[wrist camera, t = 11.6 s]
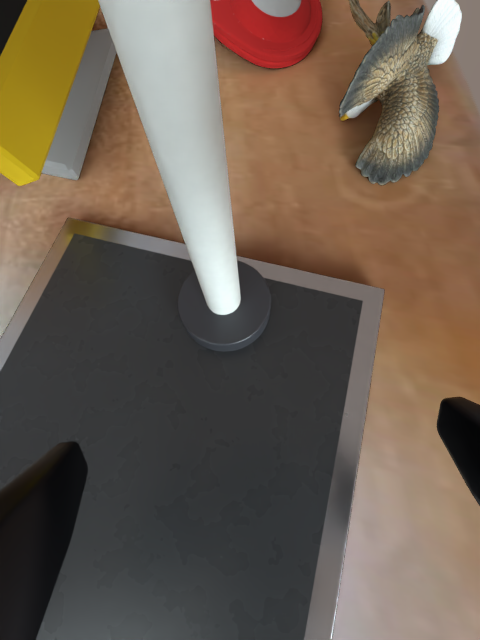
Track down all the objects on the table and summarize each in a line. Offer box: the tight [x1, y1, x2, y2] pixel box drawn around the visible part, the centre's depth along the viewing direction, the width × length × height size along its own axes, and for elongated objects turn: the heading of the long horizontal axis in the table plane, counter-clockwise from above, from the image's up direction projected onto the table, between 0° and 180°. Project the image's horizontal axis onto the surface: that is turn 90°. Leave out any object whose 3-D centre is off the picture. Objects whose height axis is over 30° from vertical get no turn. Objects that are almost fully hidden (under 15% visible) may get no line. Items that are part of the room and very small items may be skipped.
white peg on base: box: [98, 0, 271, 352], centre depth 10 cm, size 4×4×13 cm
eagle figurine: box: [339, 0, 462, 185], centre depth 18 cm, size 8×7×9 cm
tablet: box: [0, 218, 385, 640], centre depth 14 cm, size 24×18×1 cm
